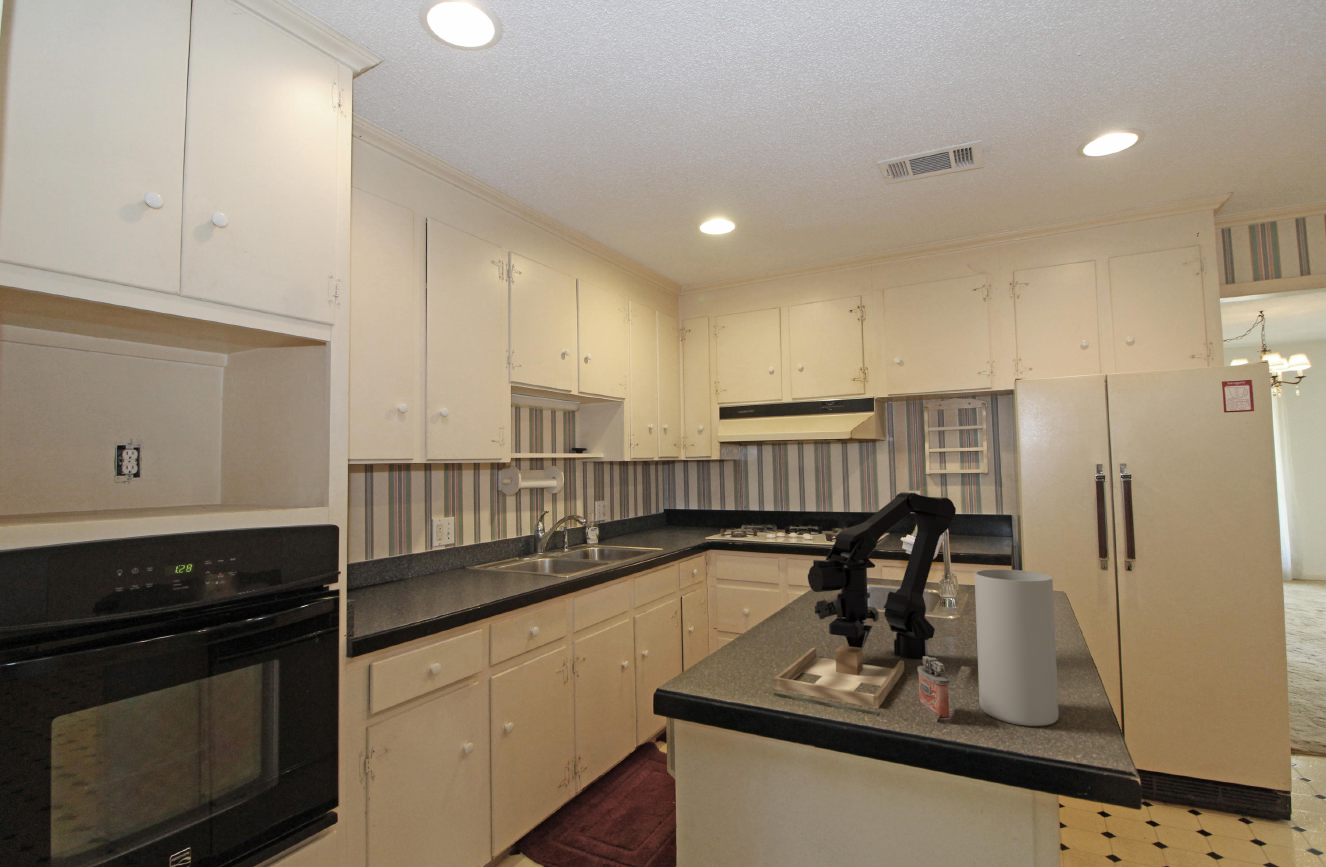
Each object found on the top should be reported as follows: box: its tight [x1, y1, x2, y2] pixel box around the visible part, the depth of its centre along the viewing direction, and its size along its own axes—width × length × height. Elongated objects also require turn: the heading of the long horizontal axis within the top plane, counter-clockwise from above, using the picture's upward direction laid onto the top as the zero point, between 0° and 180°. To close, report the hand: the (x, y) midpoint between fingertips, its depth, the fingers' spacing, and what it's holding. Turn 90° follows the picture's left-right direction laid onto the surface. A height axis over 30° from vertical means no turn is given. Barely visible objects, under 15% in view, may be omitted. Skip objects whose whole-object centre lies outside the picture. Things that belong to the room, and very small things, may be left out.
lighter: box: [917, 655, 952, 725], centre depth 113 cm, size 8×3×10 cm, turn 5°
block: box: [835, 645, 864, 676], centre depth 133 cm, size 4×4×4 cm
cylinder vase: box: [974, 568, 1060, 727], centre depth 114 cm, size 12×12×25 cm
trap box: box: [773, 647, 905, 717], centre depth 128 cm, size 20×24×4 cm
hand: (855, 659), depth 138 cm, fingers closed
